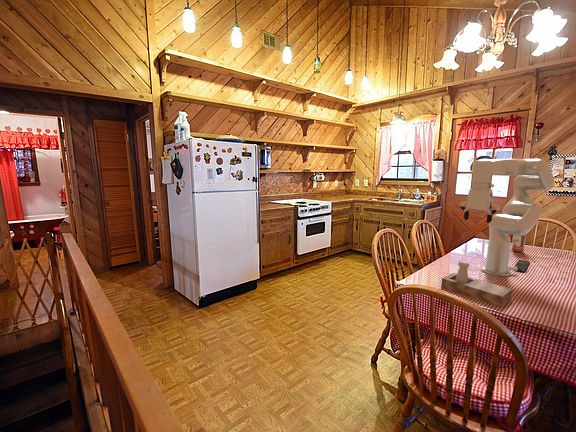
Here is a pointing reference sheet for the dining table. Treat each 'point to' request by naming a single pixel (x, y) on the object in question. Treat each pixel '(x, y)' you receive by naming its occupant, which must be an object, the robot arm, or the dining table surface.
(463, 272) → the salt shaker
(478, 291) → the caddy
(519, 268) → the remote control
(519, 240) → the liquor
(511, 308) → the dining table surface
